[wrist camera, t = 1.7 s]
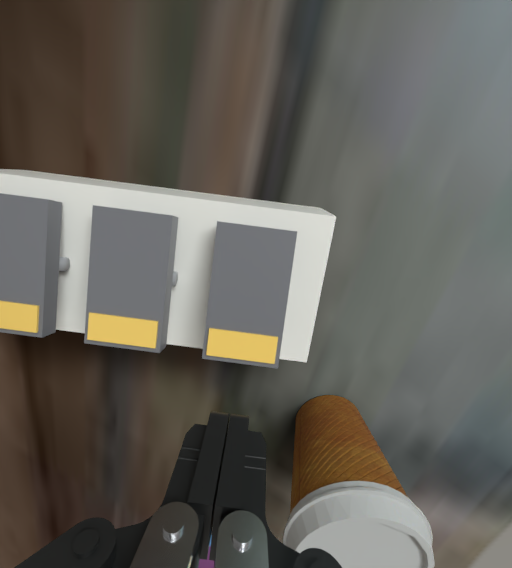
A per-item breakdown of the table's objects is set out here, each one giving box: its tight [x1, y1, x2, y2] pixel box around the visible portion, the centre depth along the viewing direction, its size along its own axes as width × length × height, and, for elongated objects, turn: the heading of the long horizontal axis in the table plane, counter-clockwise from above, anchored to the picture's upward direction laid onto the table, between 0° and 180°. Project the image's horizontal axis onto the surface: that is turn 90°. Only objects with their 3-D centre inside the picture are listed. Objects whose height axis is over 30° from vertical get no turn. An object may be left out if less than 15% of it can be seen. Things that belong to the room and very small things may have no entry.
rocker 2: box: [84, 205, 178, 353], centre depth 18 cm, size 8×4×1 cm, turn 173°
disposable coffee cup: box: [283, 395, 435, 568], centre depth 24 cm, size 10×10×12 cm
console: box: [0, 169, 336, 362], centre depth 22 cm, size 10×23×7 cm, turn 83°
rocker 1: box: [0, 193, 62, 338], centre depth 18 cm, size 8×4×1 cm, turn 173°
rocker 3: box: [202, 221, 297, 368], centre depth 18 cm, size 8×4×1 cm, turn 173°
